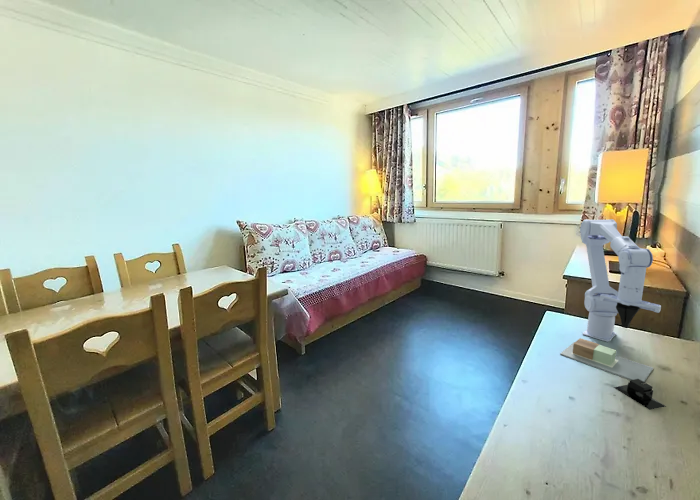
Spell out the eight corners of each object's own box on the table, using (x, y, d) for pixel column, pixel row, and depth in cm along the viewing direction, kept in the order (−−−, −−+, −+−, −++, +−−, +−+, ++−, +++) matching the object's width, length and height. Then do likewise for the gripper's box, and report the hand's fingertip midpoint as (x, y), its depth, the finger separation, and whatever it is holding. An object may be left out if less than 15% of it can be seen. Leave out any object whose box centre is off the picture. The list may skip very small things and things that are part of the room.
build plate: (574, 342, 114) (574, 341, 114) (653, 368, 97) (653, 367, 97) (560, 354, 107) (560, 353, 107) (642, 384, 90) (642, 383, 90)
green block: (597, 354, 105) (598, 344, 105) (614, 360, 102) (616, 350, 101) (592, 359, 103) (593, 349, 102) (610, 365, 99) (611, 355, 98)
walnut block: (578, 347, 110) (579, 338, 109) (598, 354, 106) (599, 344, 105) (572, 353, 107) (573, 343, 106) (592, 359, 102) (593, 349, 102)
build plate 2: (675, 412, 80) (679, 396, 79) (652, 417, 79) (655, 401, 78) (625, 382, 92) (627, 368, 91) (604, 386, 91) (606, 372, 90)
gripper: (598, 284, 103) (594, 323, 106) (659, 295, 92) (652, 338, 94) (605, 279, 107) (601, 317, 110) (665, 289, 96) (658, 331, 99)
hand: (625, 326), depth 102 cm, fingers closed
